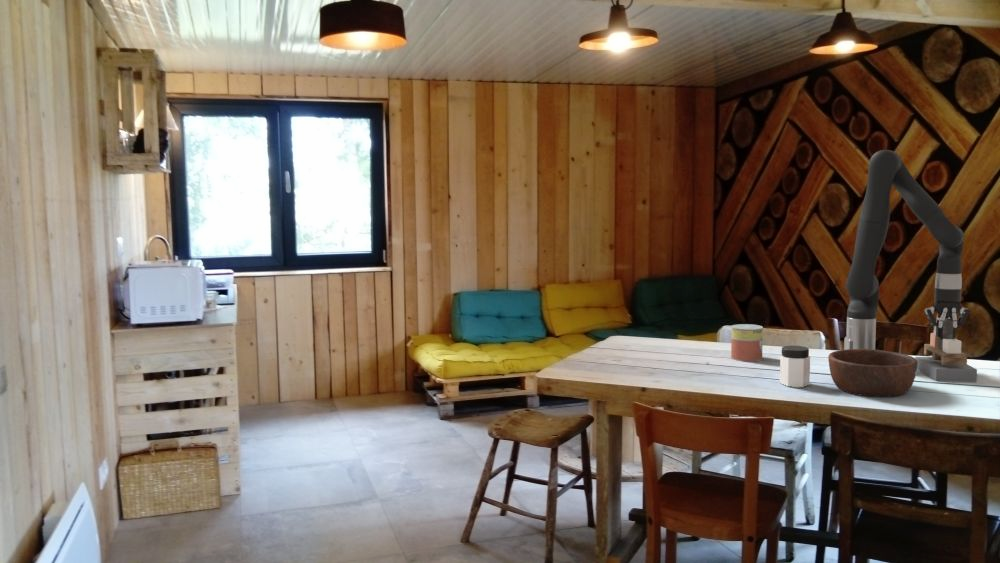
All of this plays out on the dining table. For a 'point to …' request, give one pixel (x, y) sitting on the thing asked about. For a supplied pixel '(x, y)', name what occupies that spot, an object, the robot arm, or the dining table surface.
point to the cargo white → (952, 346)
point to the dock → (945, 370)
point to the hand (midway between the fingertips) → (945, 338)
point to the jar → (795, 366)
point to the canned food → (746, 342)
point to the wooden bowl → (872, 372)
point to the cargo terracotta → (934, 340)
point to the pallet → (945, 356)
